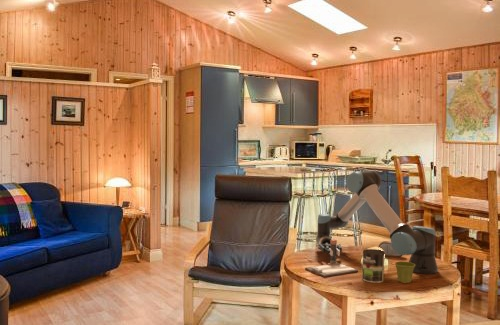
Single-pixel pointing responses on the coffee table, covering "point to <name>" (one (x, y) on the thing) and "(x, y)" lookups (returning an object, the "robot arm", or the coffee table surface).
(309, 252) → the coffee table surface
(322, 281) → the coffee table surface
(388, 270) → the coffee table surface
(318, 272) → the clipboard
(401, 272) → the plant pot
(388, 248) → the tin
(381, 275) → the coffee can
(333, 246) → the marker
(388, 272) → the coffee table surface
